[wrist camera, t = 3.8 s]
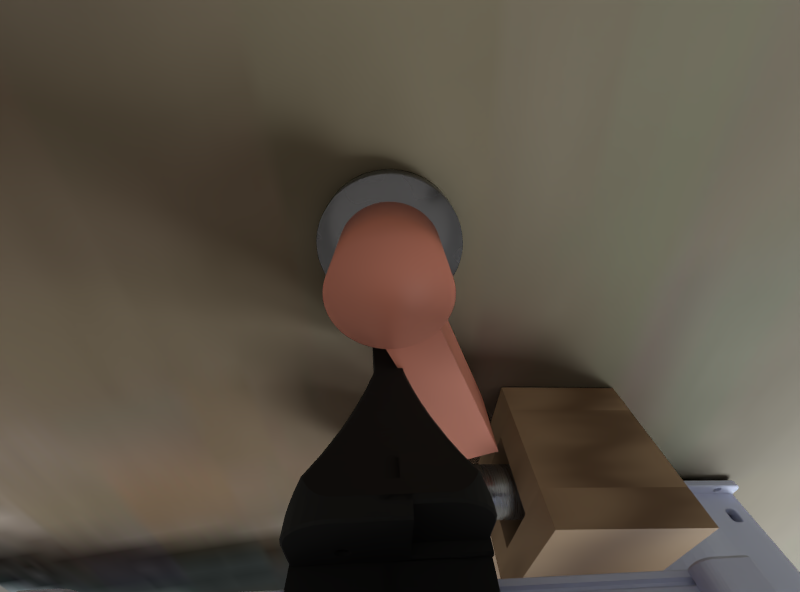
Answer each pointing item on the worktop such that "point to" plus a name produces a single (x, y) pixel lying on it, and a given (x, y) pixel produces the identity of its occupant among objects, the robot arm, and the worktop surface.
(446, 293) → the latch lever
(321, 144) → the worktop surface
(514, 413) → the eye block
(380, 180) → the lever base
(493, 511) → the robot arm
